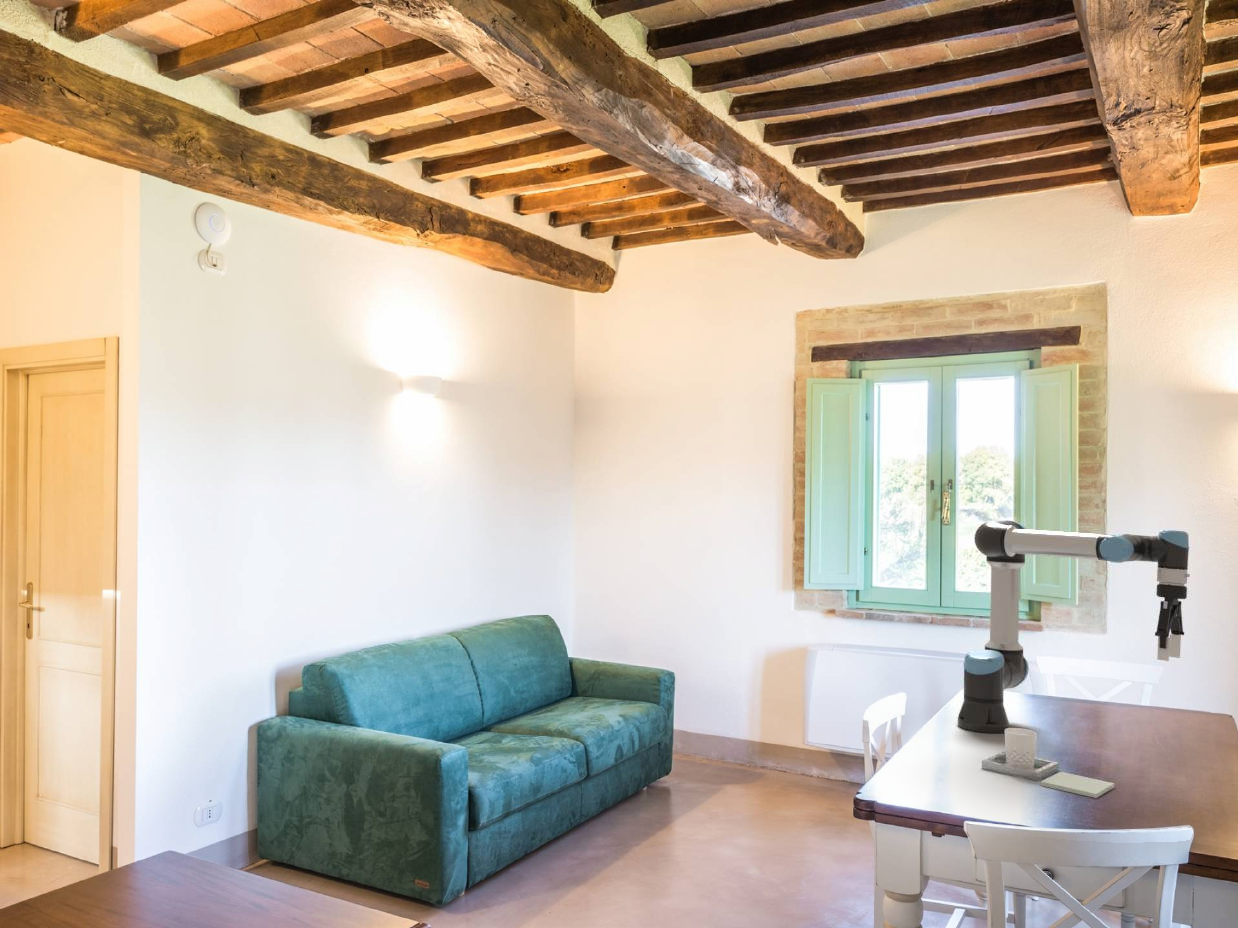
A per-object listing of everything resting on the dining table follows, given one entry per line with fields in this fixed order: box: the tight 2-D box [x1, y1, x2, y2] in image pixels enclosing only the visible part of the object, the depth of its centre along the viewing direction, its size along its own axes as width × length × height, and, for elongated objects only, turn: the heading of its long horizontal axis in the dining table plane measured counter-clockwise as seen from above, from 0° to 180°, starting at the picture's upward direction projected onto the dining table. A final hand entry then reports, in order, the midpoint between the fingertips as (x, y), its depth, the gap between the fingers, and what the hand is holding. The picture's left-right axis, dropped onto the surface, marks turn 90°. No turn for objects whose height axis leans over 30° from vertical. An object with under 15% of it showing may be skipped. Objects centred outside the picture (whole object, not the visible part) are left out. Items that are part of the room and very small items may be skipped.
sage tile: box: [1040, 771, 1115, 799], centre depth 239 cm, size 13×13×1 cm
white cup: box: [1004, 727, 1038, 771], centre depth 253 cm, size 8×8×10 cm
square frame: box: [981, 750, 1059, 782], centre depth 253 cm, size 14×14×2 cm
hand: (1168, 658), depth 272 cm, fingers open, 13 cm apart
